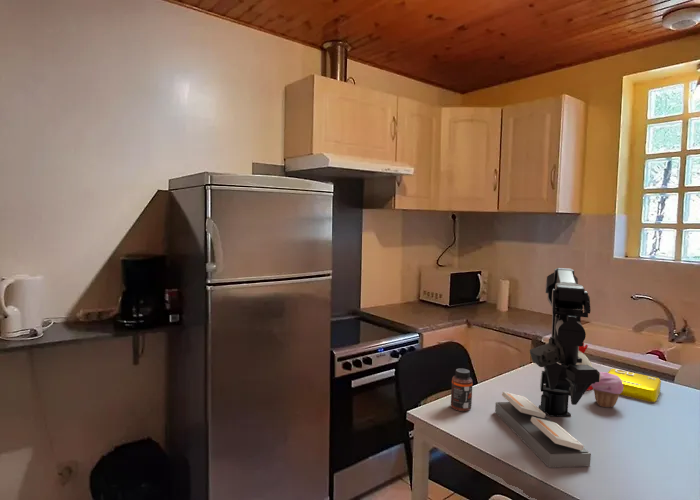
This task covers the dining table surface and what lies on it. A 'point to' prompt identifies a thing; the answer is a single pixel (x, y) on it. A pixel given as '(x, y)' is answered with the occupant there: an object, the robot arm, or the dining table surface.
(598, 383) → the cupcake
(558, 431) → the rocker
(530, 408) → the rocker
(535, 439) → the grey switch panel
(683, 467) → the dining table surface
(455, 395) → the supplement bottle
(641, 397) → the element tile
